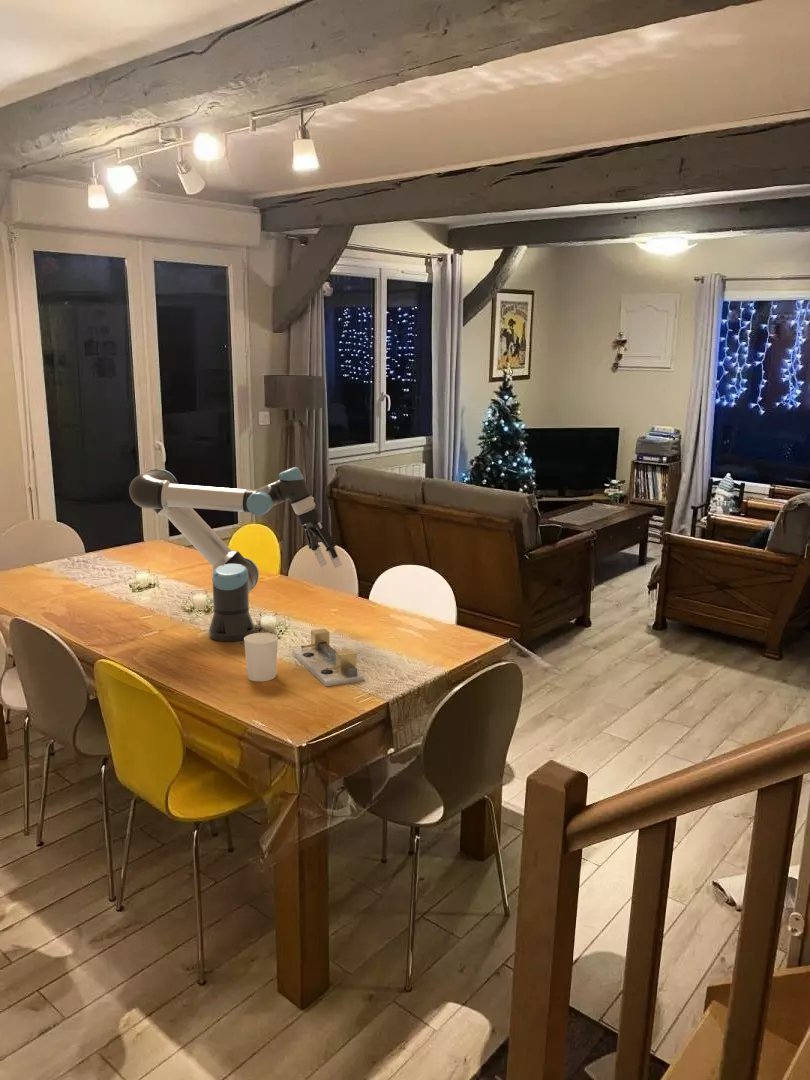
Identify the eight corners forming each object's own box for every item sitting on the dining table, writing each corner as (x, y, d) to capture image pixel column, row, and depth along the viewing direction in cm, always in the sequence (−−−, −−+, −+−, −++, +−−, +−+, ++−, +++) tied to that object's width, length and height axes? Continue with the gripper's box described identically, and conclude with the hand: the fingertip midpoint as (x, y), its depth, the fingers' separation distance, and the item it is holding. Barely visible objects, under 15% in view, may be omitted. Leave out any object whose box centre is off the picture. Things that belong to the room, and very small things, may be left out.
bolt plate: (326, 686, 236) (326, 664, 235) (292, 653, 262) (291, 633, 261) (364, 680, 242) (364, 658, 240) (327, 648, 268) (327, 628, 266)
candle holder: (280, 670, 248) (279, 632, 245) (276, 682, 238) (275, 643, 236) (247, 670, 248) (246, 632, 245) (242, 682, 238) (241, 643, 235)
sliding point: (303, 650, 260) (302, 635, 259) (298, 646, 264) (298, 631, 263) (329, 646, 264) (329, 632, 263) (324, 643, 268) (324, 628, 266)
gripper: (328, 504, 274) (354, 561, 278) (303, 508, 296) (327, 561, 300) (309, 513, 271) (335, 571, 275) (285, 516, 293) (309, 570, 297)
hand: (331, 566), depth 287 cm, fingers open, 13 cm apart
